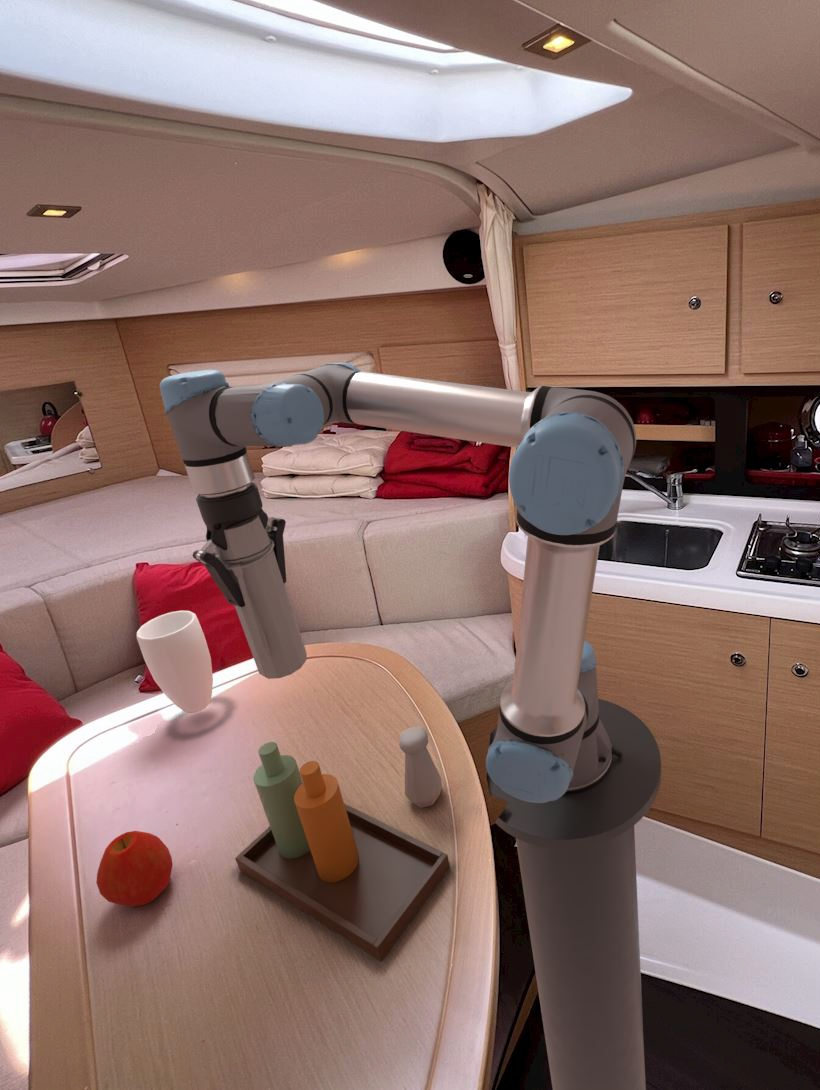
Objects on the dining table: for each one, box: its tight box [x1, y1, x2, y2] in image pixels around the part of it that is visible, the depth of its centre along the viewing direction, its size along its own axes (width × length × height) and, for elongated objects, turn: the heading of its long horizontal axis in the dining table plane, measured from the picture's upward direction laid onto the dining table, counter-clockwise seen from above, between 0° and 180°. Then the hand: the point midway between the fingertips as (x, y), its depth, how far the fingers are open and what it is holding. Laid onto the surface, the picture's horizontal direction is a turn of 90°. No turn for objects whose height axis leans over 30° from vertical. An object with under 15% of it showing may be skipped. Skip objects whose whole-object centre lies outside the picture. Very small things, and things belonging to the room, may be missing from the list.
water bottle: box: [216, 515, 308, 680], centre depth 87 cm, size 9×8×25 cm
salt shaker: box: [398, 725, 443, 809], centre depth 93 cm, size 6×6×13 cm
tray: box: [234, 803, 451, 962], centre depth 85 cm, size 28×14×3 cm, turn 61°
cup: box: [136, 610, 214, 714], centre depth 114 cm, size 10×10×22 cm
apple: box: [95, 830, 173, 907], centre depth 82 cm, size 8×8×11 cm
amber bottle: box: [294, 760, 359, 883], centre depth 82 cm, size 6×6×18 cm
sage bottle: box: [253, 741, 310, 859], centre depth 86 cm, size 6×6×18 cm
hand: (272, 635), depth 90 cm, fingers closed
